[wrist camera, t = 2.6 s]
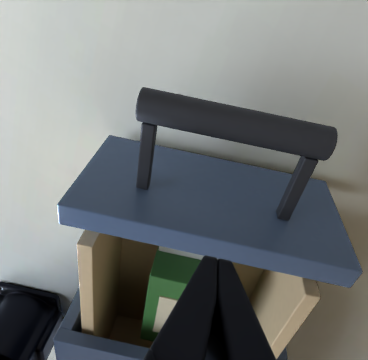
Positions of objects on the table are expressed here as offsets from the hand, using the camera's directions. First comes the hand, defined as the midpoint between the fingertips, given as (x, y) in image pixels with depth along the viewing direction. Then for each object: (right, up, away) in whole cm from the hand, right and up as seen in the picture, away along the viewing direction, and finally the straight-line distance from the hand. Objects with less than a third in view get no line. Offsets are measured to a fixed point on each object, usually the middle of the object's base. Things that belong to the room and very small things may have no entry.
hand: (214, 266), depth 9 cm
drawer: (0, -1, +13) cm, 13 cm away
